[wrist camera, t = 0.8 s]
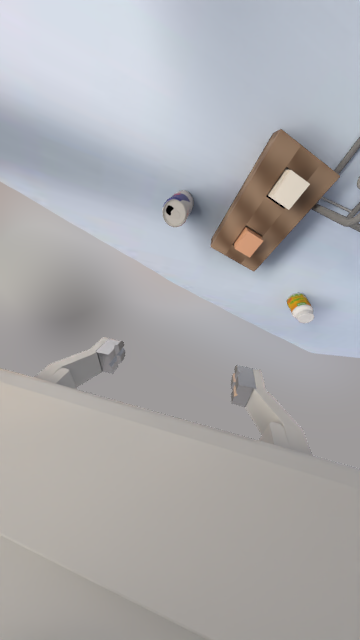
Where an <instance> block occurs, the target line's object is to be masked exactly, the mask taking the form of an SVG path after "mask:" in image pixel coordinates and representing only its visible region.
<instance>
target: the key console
mask: <svg viewBox="0 0 360 640" xmlns="http://www.w3.org/2000/svg"><path fill="white" fill-rule="evenodd" d="M286 167H287V168H288V169H289V170H292V171H293V172H295V173H296V174H297V175H299V176H300V177H301V178H303V179H304V180H305V181H307V182H308V183H309V184H310V185H309V186H308V187H307V189H306V190H305V191H304V192H303V193H302V195H301V196H300V197H299V198H298V200H297V201H296V202H295V203H294V204H293V206H292V207H291V208H290V209H289V210H288V209H287V208H285V207H284V208H282V207H281V206H279V205H278V204H276V203H275V202H273V201H272V200H270V199H269V198H268V197H266V196H267V194H268V193H269V191H270V190H271V188H272V187H273V185H274V184H275V183H276V181H277V180H278V178H279V177H280V175H281V174H282V172H283V171H284V170H285V168H286ZM339 177H340V175H338V174H337V173H336V172H335V171H333V170H332V169H331V168H330V167H328V166H327V165H326V164H324V163H323V162H322V161H321V160H319V159H318V158H317V157H316V156H314V155H313V154H312V153H311V152H309V151H308V150H307V149H306V148H304V147H303V146H302V145H301V144H299V143H298V142H297V141H296V140H294V139H293V138H292V137H291V136H289V135H288V134H287V133H286V132H284V131H283V130H282V129H280V130H278V131H276V132H275V133H273V134H272V136H271V138H270V139H269V141H268V143H267V145H266V146H265V148H264V150H263V151H262V153H261V155H260V157H259V158H258V160H257V162H256V163H255V165H254V167H253V169H252V170H251V172H250V174H249V175H248V177H247V179H246V181H245V182H244V184H243V186H242V188H241V189H240V191H239V193H238V194H237V196H236V198H235V200H234V201H233V203H232V205H231V206H230V208H229V210H228V212H227V213H226V215H225V217H224V218H223V220H222V222H221V224H220V225H219V227H218V229H217V230H216V232H215V234H214V236H213V237H212V239H211V247H212V248H214V249H215V250H217V251H219V252H221V253H222V254H224V255H226V256H228V257H229V258H231V259H233V260H235V261H236V262H238V263H240V264H242V265H243V266H245V267H247V268H249V269H250V270H252V271H255V270H256V269H257V268H258V267H259V266H260V265H261V264H262V262H263V261H264V260H265V259H266V258H267V257H268V256H269V255H270V254H271V253H272V251H273V250H274V249H275V248H276V247H277V246H278V245H279V244H280V243H281V241H282V240H283V239H284V238H285V237H286V236H287V235H288V234H289V233H290V231H291V230H292V229H293V228H294V227H295V226H296V225H297V224H298V223H299V222H300V220H301V219H302V218H303V217H304V216H305V215H306V214H307V213H308V212H309V210H310V209H311V208H312V207H313V206H314V205H315V204H316V203H317V202H318V200H319V199H320V198H321V197H322V196H323V195H324V194H325V193H326V192H327V191H328V189H329V188H330V187H331V186H332V185H333V184H334V183H335V182H336V181H337V179H338V178H339ZM245 226H248V227H250V228H251V229H253V230H254V231H256V232H258V233H259V234H261V235H262V236H261V237H262V239H263V242H262V243H261V245H260V246H259V247H258V248H257V250H256V251H255V252H254V253H253V254H252V256H251V257H248V256H246V255H244V254H243V253H241V252H239V251H238V250H236V249H235V247H234V244H233V243H234V242H235V240H236V239H237V237H238V236H239V235H240V233H241V232H242V230H243V229H244V227H245Z"/></svg>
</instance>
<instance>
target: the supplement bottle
mask: <svg viewBox="0 0 360 640" xmlns="http://www.w3.org/2000/svg"><path fill="white" fill-rule="evenodd" d="M287 304H288V306H289V308H290V310H291V313H292V315H293V316H294V317H295V318H297V319H298V321H299V322H300V323H308V322H310V321H312V320H313V319H314V315H313V308H312V306H311V304H310V303H309V301H308V300H307V298H306V297H305V295H304V294H302V293H294V294H292V295H290V296H289V297H288V298H287Z"/></svg>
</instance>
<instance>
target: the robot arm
mask: <svg viewBox="0 0 360 640" xmlns="http://www.w3.org/2000/svg"><path fill="white" fill-rule="evenodd" d="M123 346H124V342H123V341H119V340H115V339H110V338H106V337H103V338H102V339H101V340H99V341H98V342H97V343H96V344H95V345H94V346H93V347H92V348H91V349H90V350H89V351H88V350H86V351H83V352H80V353H78V354H75V355H73V356H70V357H67V358H65V359H62V360H59V361H57V362H54V363H51V364H50V365H48V366H47V367H46V368H45V369H43V370H42V371H41V372H40V373H38V374H37V375H36V376H35V377H31V376H27V375H24V374H20V373H17V372H13V371H9V370H6V369H2V368H0V640H360V469H359V468H356V467H352V466H348V465H345V464H341V463H337V462H334V461H330V460H327V459H323V458H320V457H316V456H313V455H312V453H311V450H310V447H309V445H308V442H307V440H306V437H305V434H304V431H303V429H302V428H301V427H300V426H299V425H298V423H297V422H296V421H295V420H294V419H293V418H292V417H291V416H290V415H289V414H288V412H287V411H286V410H284V408H283V407H282V406H281V405H280V404H279V403H278V401H277V400H276V399H275V398H274V397H273V396H272V395H271V394H270V393H269V392H267V391H266V388H265V384H264V380H263V376H262V371H261V370H258V369H253V368H248V367H243V366H238V365H236V366H235V369H234V370H235V373H234V374H233V375H232V380H231V389H232V390H233V391H232V393H231V399H232V404H236V405H239V406H243V407H246V410H247V411H248V413H249V415H250V416H251V418H252V420H253V421H254V423H255V425H256V427H257V428H258V430H259V432H260V433H261V435H262V436H261V437H260V439H259V440H255V439H252V438H249V437H245V436H241V435H238V434H234V433H231V432H227V431H223V430H220V429H217V428H213V427H209V426H206V425H202V424H198V423H195V422H191V421H188V420H184V419H181V418H177V417H174V416H170V415H166V414H163V413H159V412H156V411H152V410H149V409H145V408H141V407H138V406H134V405H131V404H127V403H124V402H120V401H116V400H113V399H109V398H106V397H102V396H99V395H95V394H92V393H88V392H84V391H81V390H77V387H78V386H79V385H81V384H83V383H85V382H86V381H88V380H89V379H91V378H93V377H94V376H96V375H98V374H100V373H101V372H102V371H103V372H108V373H112V374H113V373H114V371H115V370H116V369H117V367H118V364H119V363H121V362H122V361H123V359H124V357H125V350H124V348H123Z"/></svg>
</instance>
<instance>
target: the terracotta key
mask: <svg viewBox="0 0 360 640" xmlns="http://www.w3.org/2000/svg"><path fill="white" fill-rule="evenodd" d="M262 242H263V239H262V237H261V235H259V234H258V233H256V232H254V231H253V230H251V229H250V228H248V227H246V226H245V228H244V229H243V230H242V232H241V233H240V235H239V236H238V238H237V239H236V241H235V242H234V247H235V249H236V250H238V251H239V252H241V253H243V254H244V255H246V256H248V257H251V256H252V254H253V253H254V252H255V251H256V250H257V248H258V247H259V246H260V245H261V243H262Z"/></svg>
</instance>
